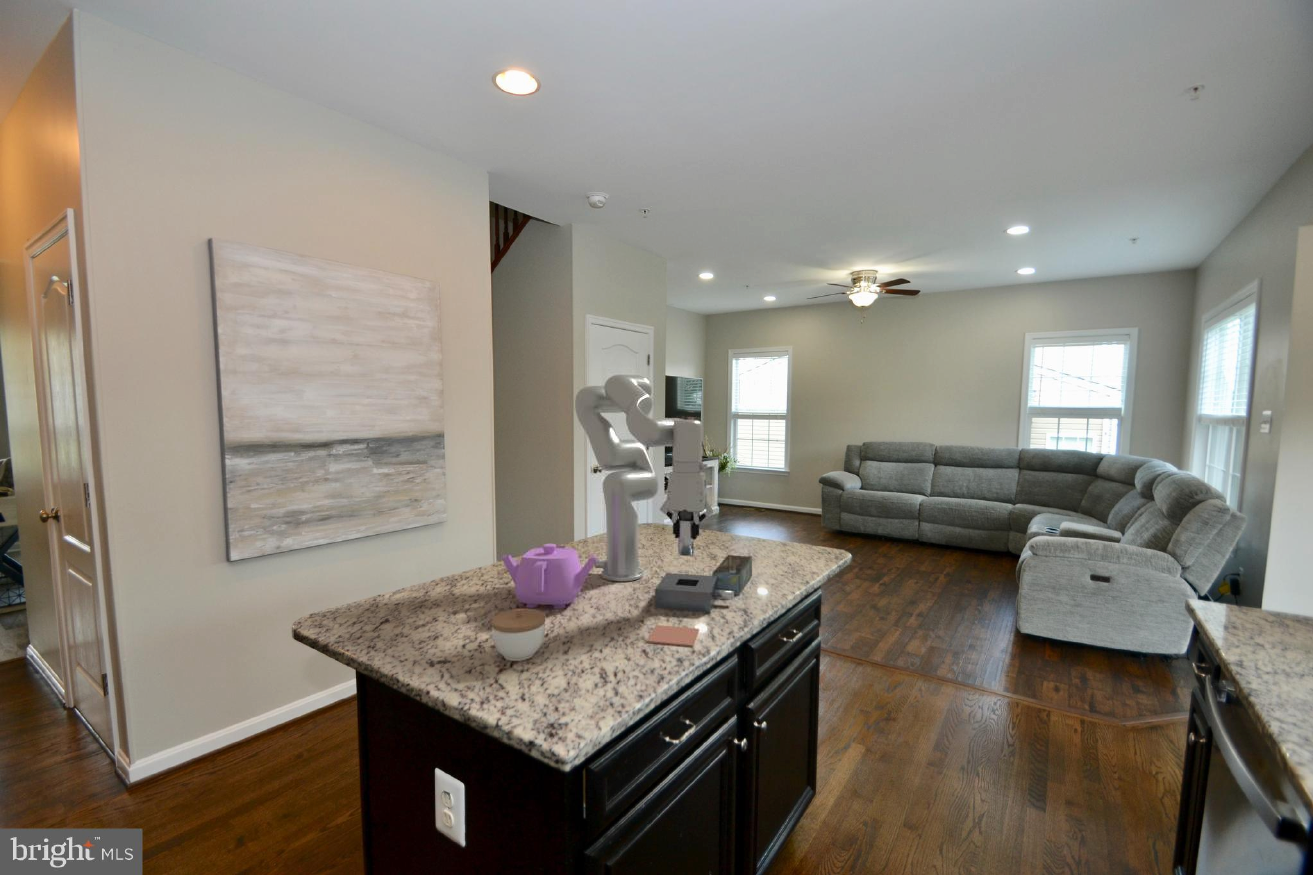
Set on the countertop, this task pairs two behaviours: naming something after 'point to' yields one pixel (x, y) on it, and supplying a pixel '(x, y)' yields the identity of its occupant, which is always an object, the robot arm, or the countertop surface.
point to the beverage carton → (734, 573)
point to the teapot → (548, 575)
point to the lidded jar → (518, 633)
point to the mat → (673, 635)
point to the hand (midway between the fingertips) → (686, 537)
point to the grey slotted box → (689, 592)
